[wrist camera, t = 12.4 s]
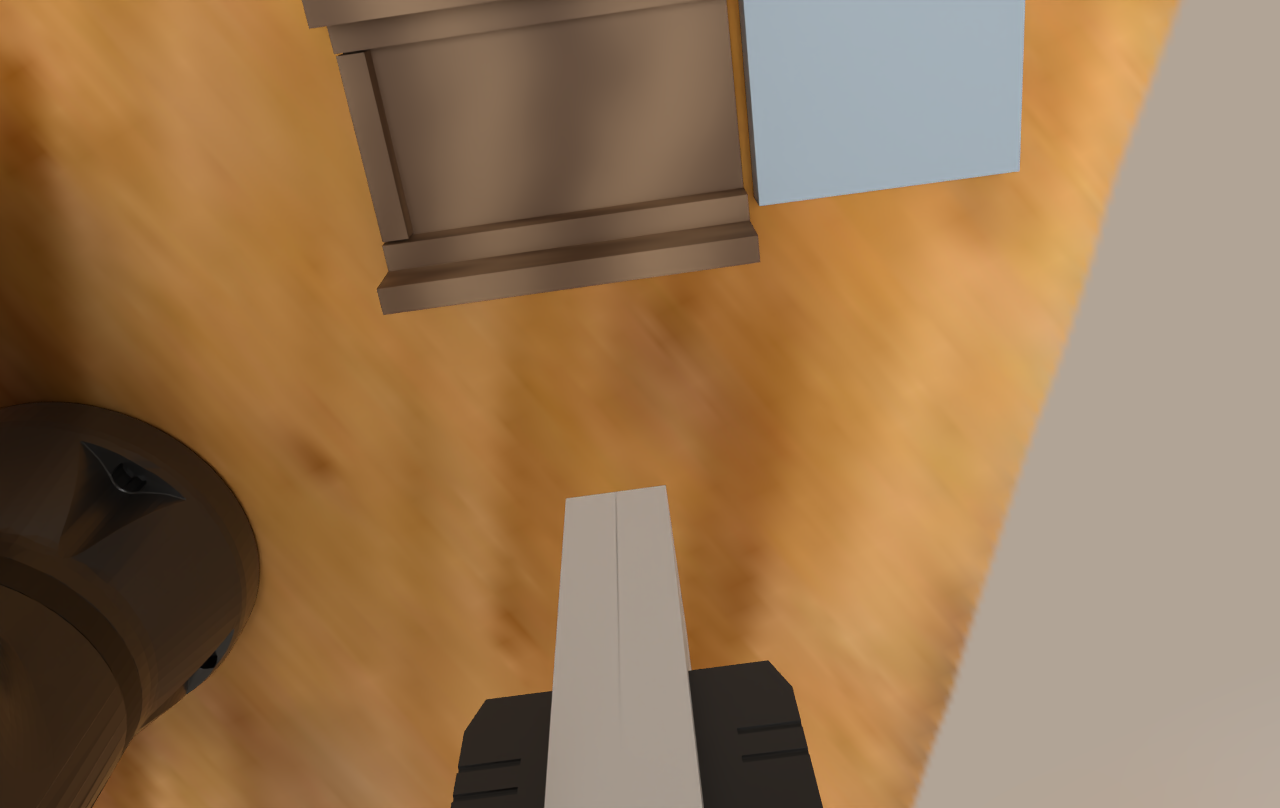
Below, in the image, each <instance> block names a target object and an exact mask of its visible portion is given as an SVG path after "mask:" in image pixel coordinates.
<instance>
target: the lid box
mask: <svg viewBox="0 0 1280 808" xmlns="http://www.w3.org/2000/svg"><path fill="white" fill-rule="evenodd" d="M302 2H303V6H304V10H305V14H306V18H307V22H308V26H309V29H310V28H317V27H324V26H327V28H328V32H329V36H330V40H331V44H332V48H333V52H334V54H338V53H343V54H341V55H339V56H336V58H337V62H338V66H339V70H340V74H341V78H342V82H343V86H344V90H345V94H346V98H347V102H348V106H349V110H350V114H351V118H352V122H353V126H354V130H355V134H356V138H357V142H358V146H359V150H360V153H361V157H362V161H363V165H364V169H365V173H366V177H367V181H368V185H369V189H370V193H371V197H372V201H373V205H374V209H375V213H376V217H377V221H378V225H379V229H380V233H381V237H382V241H383V242H385V243H384V245H383V246H382V247H383V251H384V255H385V259H386V263H387V267H388V271H389V272H388V273H387V275H386V276H385V278H384V279H383V281H382V282H381V284H380V285H379V287H378V288H377V292H378V296H379V300H380V304H381V308H382V311H383V315H386V314H393V313H400V312H408V311H415V310H422V309H429V308H436V307H443V306H450V305H457V304H465V303H472V302H479V301H486V300H493V299H500V298H507V297H515V296H522V295H529V294H536V293H543V292H550V291H557V290H565V289H572V288H579V287H586V286H593V285H600V284H607V283H615V282H622V281H629V280H636V279H643V278H650V277H657V276H665V275H672V274H679V273H686V272H693V271H700V270H707V269H714V268H722V267H729V266H736V265H743V264H750V263H757V262H760V254H759V243H758V235H757V233H756V231H755V229H754V227H753V225H752V224H751V222H750V217H749V206H748V195H747V193H746V191H745V189H744V188H743V178H742V167H741V156H740V145H739V134H738V123H737V112H736V101H735V90H734V79H733V68H732V57H731V46H730V35H729V24H728V14H727V3H726V0H302Z"/></svg>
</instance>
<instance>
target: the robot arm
mask: <svg viewBox="0 0 1280 808" xmlns="http://www.w3.org/2000/svg"><path fill="white" fill-rule="evenodd" d="M258 585H259V558H258V551H257V546H256V542H255V539H254V535H253V532H252V529H251V527H250V524H249V522H248V519H247V517H246V515H245V513H244V511H243V509H242V508H241V506H240V504H239V503H238V501H237V499H236V498H235V496H234V495H233V494H232V492H231V491H230V489H229V488H228V487H227V485H226V484H225V483H224V482H223V480H222V479H221V478H220V477H219V476H218V475H217V474H216V473H215V472H214V470H212V469H211V468H210V467H209V466H208V465H207V464H206V463H205V462H204V461H203V460H202V459H201V458H200V457H198V456H197V455H196V454H195V453H194V452H192V451H191V450H190V449H188V448H187V447H186V446H184V445H183V444H181V443H180V442H178V441H177V440H175V439H174V438H172V437H171V436H169V435H167V434H165V433H164V432H162V431H160V430H158V429H156V428H154V427H152V426H150V425H148V424H146V423H144V422H142V421H139V420H137V419H135V418H132V417H129V416H126V415H124V414H121V413H118V412H114V411H111V410H107V409H103V408H99V407H94V406H89V405H83V404H75V403H65V402H37V403H27V404H20V405H14V406H10V407H6V408H2V409H0V808H92V807H93V805H94V803H95V802H96V800H97V798H98V796H99V795H100V793H101V791H102V789H103V788H104V786H105V784H106V782H107V781H108V779H109V777H110V775H111V774H112V772H113V770H114V768H115V767H116V765H117V763H118V761H119V759H120V758H121V756H122V754H123V753H124V751H125V749H126V748H127V746H128V744H129V743H130V741H131V740H132V738H133V737H134V736H135V735H136V734H138V733H139V732H140V731H141V730H143V729H144V728H145V727H146V726H148V725H149V724H150V723H152V722H153V721H154V720H155V719H157V718H158V717H159V716H161V715H162V714H163V713H164V712H166V711H167V710H168V709H169V708H171V707H172V706H173V705H175V704H176V703H177V702H178V701H179V700H181V699H182V698H183V697H184V696H185V695H186V694H188V693H189V692H191V691H192V690H194V689H195V688H196V687H197V686H198V685H200V684H201V683H202V682H203V681H205V680H206V679H207V678H208V677H209V676H210V675H211V674H212V673H213V672H214V671H215V670H216V669H217V668H218V667H219V666H220V664H221V663H222V662H223V661H224V660H225V658H226V657H227V655H228V654H229V653H230V651H231V649H232V648H233V646H234V644H235V643H236V641H237V639H238V637H239V635H240V633H241V631H242V630H243V628H244V626H245V624H246V622H247V620H248V618H249V616H250V614H251V612H252V609H253V606H254V603H255V600H256V596H257V592H258ZM458 769H459V773H457V775H456V781H455V787H454V792H453V802H452V803H451V808H823V806H822V802H821V798H820V794H819V790H818V786H817V782H816V778H815V774H814V770H813V766H812V763H811V759H810V755H809V753H808V747H807V743H806V739H805V735H804V731H803V727H802V725H801V719H800V715H799V711H798V707H797V704H796V700H795V696H794V692H793V688H792V686H791V685H790V684H789V683H788V682H787V681H786V679H785V678H784V677H783V676H782V675H781V674H780V673H779V672H778V671H777V670H776V668H775V667H774V666H773V665H772V664H771V663H770V662H769V661H760V662H753V663H745V664H737V665H729V666H722V667H714V668H706V669H698V670H691V664H690V656H689V648H688V639H687V631H686V624H685V617H684V610H683V603H682V596H681V589H680V582H679V575H678V568H677V561H676V554H675V547H674V540H673V533H672V526H671V519H670V512H669V505H668V498H667V491H666V485H663V486H656V487H648V488H641V489H634V490H626V491H619V492H611V493H604V494H596V495H589V496H581V497H574V498H567V499H566V506H565V520H564V534H563V548H562V563H561V577H560V591H559V605H558V620H557V634H556V648H555V662H554V677H553V691H549V692H541V693H533V694H526V695H518V696H510V697H502V698H495V699H487V700H486V701H485V702H484V704H483V705H482V706H481V708H480V709H479V711H478V712H477V714H476V715H475V717H474V718H473V720H472V721H471V723H470V724H469V726H468V727H467V729H466V730H465V731H464V736H463V742H462V747H461V753H460V759H459V764H458Z"/></svg>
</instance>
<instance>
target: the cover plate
mask: <svg viewBox="0 0 1280 808" xmlns="http://www.w3.org/2000/svg"><path fill="white" fill-rule="evenodd" d="M738 1H739V14H740V26H741V39H742V52H743V64H744V77H745V89H746V102H747V115H748V127H749V140H750V152H751V165H752V178H753V190H754V198H755V199H756V201H757V203H758V204H759V206H763V205H771V204H778V203H786V202H793V201H801V200H808V199H816V198H823V197H830V196H838V195H845V194H853V193H860V192H868V191H875V190H883V189H890V188H897V187H905V186H912V185H920V184H927V183H935V182H942V181H950V180H957V179H964V178H972V177H979V176H987V175H994V174H1002V173H1009V172H1017V171H1020V141H1021V111H1022V80H1023V50H1024V19H1025V0H738Z"/></svg>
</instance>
